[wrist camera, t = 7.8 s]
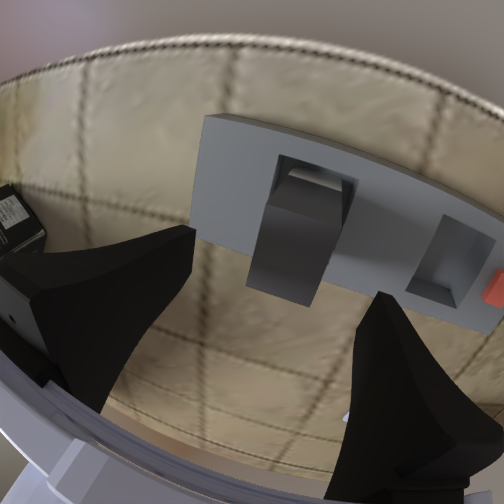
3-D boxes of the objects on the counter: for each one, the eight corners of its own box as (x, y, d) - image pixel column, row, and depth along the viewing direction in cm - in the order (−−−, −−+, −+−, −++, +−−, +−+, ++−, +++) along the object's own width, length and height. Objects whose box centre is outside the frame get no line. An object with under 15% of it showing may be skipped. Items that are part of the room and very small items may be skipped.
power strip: (524, 230, 15) (547, 252, 12) (478, 311, 19) (491, 340, 16) (223, 113, 18) (200, 115, 15) (205, 218, 22) (183, 238, 19)
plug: (341, 178, 17) (341, 228, 11) (322, 233, 19) (309, 307, 13) (295, 164, 18) (265, 203, 11) (280, 219, 20) (245, 285, 13)
